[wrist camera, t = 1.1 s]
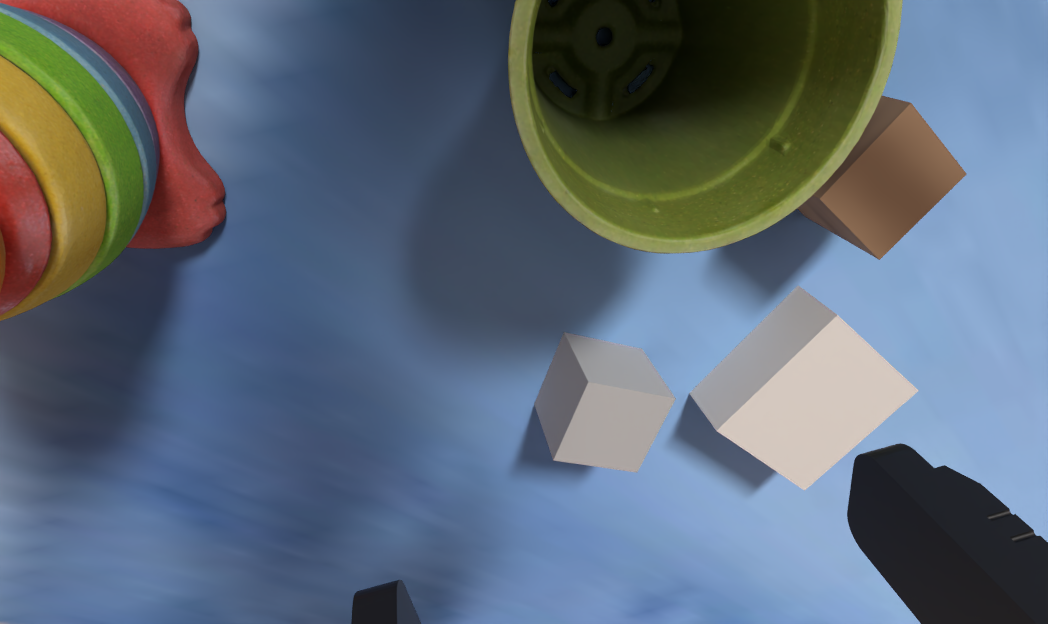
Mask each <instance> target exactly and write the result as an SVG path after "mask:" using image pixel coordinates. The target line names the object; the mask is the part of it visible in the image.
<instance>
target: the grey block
mask: <svg viewBox="0 0 1048 624" xmlns="http://www.w3.org/2000/svg"><path fill="white" fill-rule="evenodd" d="M675 399H676V398H675V397H674V395H673V394H672V392H671V391H670V390H669V388H668V387H667V385H666V384H665V382H664V381H663V379H662V378H661V376H660V375H659V373H658V372H657V370H656V369H655V367H654V366H653V364H652V363H651V362H650V360H649V359H648V357H647V356H646V354H645V353H644V351H643V350H642V349H640V348H636V347H631V346H626V345H622V344H617V343H612V342H608V341H603V340H598V339H594V338H589V337H585V336H580V335H575V334H571V333H566V332H564V333H563V335H562V338H561V340H560V343H559V345H558V348H557V350H556V352H555V355H554V357H553V360H552V362H551V365H550V367H549V369H548V372H547V374H546V377H545V379H544V382H543V384H542V386H541V389H540V391H539V394H538V396H537V399H536V401H535V403H534V405H535V408H536V411H537V414H538V417H539V420H540V423H541V426H542V428H543V431H544V434H545V437H546V440H547V443H548V446H549V449H550V452H551V455H552V458H553V460H554V461H561V462H568V463H575V464H582V465H589V466H596V467H603V468H610V469H616V470H623V471H630V472H638V470H639V468H640V466H641V464H642V462H643V460H644V458H645V456H646V454H647V453H648V451H649V449H650V447H651V445H652V443H653V441H654V439H655V437H656V435H657V433H658V431H659V430H660V428H661V426H662V424H663V422H664V420H665V418H666V416H667V414H668V412H669V410H670V408H671V407H672V405H673V403H674V401H675Z"/></svg>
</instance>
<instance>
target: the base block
mask: <svg viewBox="0 0 1048 624" xmlns="http://www.w3.org/2000/svg"><path fill="white" fill-rule="evenodd" d="M916 392H918V390H917V389H916V388H915V387H914V386H913V385H912V384H911V383H910V382H909V381H908V380H906V379H905V378H904V377H903V376H902V375H901V374H900V373H899V372H898V371H897V370H896V369H895V368H894V367H893V366H891V365H890V364H889V363H888V362H887V361H886V360H885V359H884V358H883V357H882V356H881V355H880V354H879V353H878V352H876V351H875V350H874V349H873V348H872V347H871V346H870V345H869V344H868V343H867V342H866V341H865V340H864V339H863V338H861V337H860V336H859V335H858V334H857V333H856V332H855V331H854V330H853V329H852V328H851V327H850V326H849V325H848V324H846V323H845V322H844V321H843V320H842V319H841V318H840V317H839V316H838V315H837V314H835V313H834V312H833V311H831V310H830V309H829V308H827V307H826V306H825V305H823V304H822V303H821V302H819V301H818V300H817V299H815V298H814V297H813V296H812V295H810V294H809V293H808V292H806V291H805V290H804V289H802V288H801V287H800V286H797V287H796V288H795V289H794V290H793V291H792V292H791V293H790V294H789V295H788V296H787V297H786V298H785V299H784V300H783V301H782V302H781V303H780V304H779V305H778V306H777V307H776V308H775V309H774V310H773V311H772V312H771V313H770V314H769V315H768V316H767V317H766V318H765V319H764V320H763V321H762V322H761V323H760V324H759V325H758V326H757V327H756V328H755V329H754V330H753V331H752V332H750V333H749V334H748V335H747V336H746V337H745V338H744V339H743V340H742V341H741V342H740V343H739V344H738V345H737V346H736V347H735V348H734V349H733V350H732V351H731V352H730V353H729V354H728V355H727V356H726V357H725V358H724V359H723V360H722V361H721V362H720V363H719V364H718V365H717V366H716V367H715V368H714V369H713V370H712V371H711V372H710V373H709V374H708V375H707V376H706V377H705V378H704V379H703V380H702V381H701V382H700V383H699V384H698V385H697V386H696V387H695V388H694V389H693V390H692V391H691V392H690V395H691V396H692V398H693V399H694V400H695V402H696V403H697V405H698V406H699V407H700V409H701V410H702V412H703V413H704V414H705V416H706V417H707V418H708V420H709V421H710V423H711V424H712V425H713V427H714V428H715V430H716V431H717V432H719V433H720V434H722V435H723V436H725V437H726V438H728V439H729V440H731V441H732V442H734V443H735V444H737V445H738V446H740V447H741V448H743V449H744V450H746V451H747V452H748V453H750V454H751V455H753V456H754V457H756V458H757V459H759V460H760V461H762V462H763V463H765V464H766V465H768V466H769V467H771V468H772V469H774V470H775V471H777V472H778V473H780V474H781V475H783V476H784V477H785V478H787V479H788V480H790V481H791V482H793V483H794V484H796V485H797V486H799V487H800V488H802V489H803V490H806V489H807V488H808V487H809V486H810V485H811V484H813V483H814V482H815V481H816V480H817V479H818V478H819V477H821V476H822V475H823V474H824V473H825V472H826V471H827V470H829V469H830V468H831V467H832V466H833V465H834V464H835V463H837V462H838V461H839V460H840V459H841V458H842V457H843V456H845V455H846V454H847V453H848V452H849V451H850V450H851V449H853V448H854V447H855V446H856V445H857V444H858V443H859V442H861V441H862V440H863V439H864V438H865V437H866V436H867V435H869V434H870V433H871V432H872V431H873V430H874V429H875V428H877V427H878V426H879V425H880V424H881V423H882V422H883V421H884V420H886V419H887V418H888V417H889V416H890V415H891V414H892V413H894V412H895V411H896V410H897V409H898V408H899V407H900V406H902V405H903V404H904V403H905V402H906V401H907V400H908V399H910V398H911V397H912V396H913V395H914V394H915V393H916Z"/></svg>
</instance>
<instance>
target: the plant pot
mask: <svg viewBox="0 0 1048 624" xmlns="http://www.w3.org/2000/svg"><path fill="white" fill-rule="evenodd" d="M901 12H902V0H656V1H655V2H649V0H558V2H557V3H556V5H555V6H554V7H552V6H550V4H549V2H548V0H516V1H515V6H514V11H513V16H512V21H511V28H510V36H509V51H508V76H509V89H510V97H511V104H512V109H513V114H514V118H515V122H516V125H517V129H518V132H519V135H520V138H521V141H522V144H523V147H524V149H525V152H526V154H527V156H528V158H529V160H530V162H531V164H532V166H533V168H534V170H535V172H536V173H537V175H538V177H539V179H540V180H541V182H542V183H543V185H544V186H545V187H546V189H547V190H548V192H549V193H550V194H551V195H552V197H553V198H554V199H555V200H556V201H557V202H558V203H559V204H560V205H561V206H562V207H563V208H564V209H565V210H566V211H567V212H568V213H569V214H570V215H571V216H572V217H574V218H575V219H576V220H577V221H579V222H580V223H581V224H582V225H584V226H585V227H587V228H588V229H589V230H591V231H593V232H594V233H596V234H598V235H600V236H602V237H604V238H606V239H608V240H610V241H613V242H615V243H618V244H620V245H623V246H626V247H629V248H632V249H636V250H641V251H645V252H653V253H691V252H698V251H705V250H711V249H715V248H719V247H722V246H726V245H729V244H732V243H735V242H737V241H740V240H743V239H745V238H748V237H750V236H752V235H755V234H757V233H759V232H761V231H763V230H765V229H767V228H768V227H770V226H772V225H774V224H775V223H777V222H778V221H780V220H781V219H783V218H784V217H786V216H787V215H789V214H790V213H792V212H793V211H794V210H795V209H797V208H798V207H799V206H800V205H802V204H803V203H804V202H805V201H806V200H808V199H809V198H810V197H811V196H812V195H813V194H814V193H815V192H816V191H817V190H818V189H819V188H820V187H821V186H822V185H823V184H824V183H825V182H826V181H827V180H828V179H829V178H830V177H831V176H832V175H833V173H834V172H835V171H836V170H837V169H838V168H839V167H840V165H841V164H842V163H843V162H844V160H845V159H846V158H847V156H848V155H849V153H850V152H851V150H852V149H853V148H854V146H855V145H856V143H857V142H858V141H859V139H860V137H861V135H862V134H863V132H864V130H865V128H866V126H867V124H868V123H869V121H870V119H871V117H872V115H873V113H874V111H875V109H876V107H877V105H878V102H879V100H880V98H881V95H882V93H883V90H884V87H885V85H886V82H887V79H888V76H889V73H890V71H891V67H892V63H893V59H894V55H895V51H896V46H897V41H898V35H899V30H900V22H901ZM600 28H609V29H610V31H611V32H612V40H611V42H610V43H609V44H608V45H606V46H601V45H599V44H598V43H597V40H596V35H597V32H598V30H599V29H600ZM536 52H537V53H536ZM538 53H539V54H538ZM541 53H542V54H541ZM649 62H650V63H649ZM648 64H649V65H653V67H654V69H653V71H652V73H651V74H650V75H649V77H648V79H647V80H646V81H645V82H644V83H643V84H642V85H641V86H640V87H639V88H638V89H636V90H635V91H634V92H633V93H631V94H630V93H629V92H628V89H627V87H628V85H629V83H631V82H632V81H633V80H634V79H635V78H636V77H637V76H638V75H639V74H640V73H641V72H642V71H644V70H645V69H646V66H647V65H648ZM555 70H556V71H557V73H558V74H559V75H560V76H561V78H562V79H563V80H564V81H565V82H566V83H567V84H568V85H569V86H570V87H572V88H574V89H576V90H577V92H576V93H575V94H574V95H573V96H572V98H569V97H567V96H566V95H565V94H563V93H562V92H561V91H560V89H559V88H558V87H556V86H555V85H554V83H553V82H552V81H551V80H550V79H549V75H550V74H551V73H553V72H555ZM612 103H613V106H612ZM611 111H612V112H611Z"/></svg>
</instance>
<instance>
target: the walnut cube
mask: <svg viewBox="0 0 1048 624" xmlns="http://www.w3.org/2000/svg"><path fill="white" fill-rule="evenodd" d="M965 175H966V173H965V171H964V170H963V169H962V167H961V166H960V165H959V164H958V162H957V161H956V160H955V159H954V157H953V156H952V155H951V153H950V152H949V151H948V150H947V148H946V147H945V146H944V144H943V143H942V142H941V141H940V139H939V138H938V137H937V136H936V134H935V133H934V132H933V130H932V129H931V128H930V127H929V125H928V124H927V123H926V121H925V120H924V119H923V118H922V116H921V115H920V114H919V113H918V111H917V110H916V109H915V107H914V106H913V105H912V104H911V103H909V102H905V101H901V100H897V99H893V98H889V97H885V96H881V98H880V100H879V102H878V105H877V107H876V109H875V111H874V113H873V115H872V117H871V119H870V121H869V123H868V124H867V126H866V128H865V130H864V132H863V134H862V135H861V137H860V139H859V141H858V142H857V143H856V145H855V146H854V148H853V149H852V150H851V152H850V153H849V155H848V156H847V158H846V159H845V160H844V162H843V163H842V164H841V165H840V167H839V168H838V169H837V170H836V171H835V172H834V173H833V175H832V176H831V177H830V178H829V179H828V180H827V181H826V182H825V183H824V184H823V185H822V186H821V187H820V188H819V189H818V190H817V191H816V192H815V193H814V194H813V195H812V196H811V197H810V198H809V199H808V200H806V201H805V202H804V203H803V204H802V205H800V206H799V207H798V208H797V209H798V210H799V211H800V212H801V213H802V214H803V215H804V216H805V217H807V218H808V219H810V220H812V221H814V222H815V223H817V224H819V225H820V226H822V227H824V228H826V229H827V230H829V231H831V232H833V233H834V234H836V235H838V236H839V237H841V238H843V239H845V240H846V241H848V242H850V243H851V244H853V245H855V246H857V247H858V248H860V249H862V250H864V251H865V252H867V253H869V254H870V255H872V256H874V257H876V258H877V259H879V260H880V259H881V258H882V257H883V256H884V255H885V254H886V253H887V252H888V251H889V250H890V249H891V248H892V247H893V246H894V245H895V244H896V243H897V242H898V241H899V240H900V239H901V238H902V237H903V236H904V235H905V234H906V233H907V232H908V231H909V230H910V229H911V228H912V227H913V226H914V225H915V224H916V223H917V222H918V221H919V220H920V219H921V218H923V217H924V216H925V215H926V214H927V213H928V212H929V211H930V210H931V209H932V208H933V207H934V206H935V205H936V204H937V203H938V202H939V201H940V200H941V199H942V198H943V197H944V196H945V195H946V194H947V193H948V192H949V191H950V190H951V189H952V188H953V187H954V186H955V185H956V184H957V183H958V182H959V181H960V180H961V179H962V178H963V177H964V176H965Z"/></svg>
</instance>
